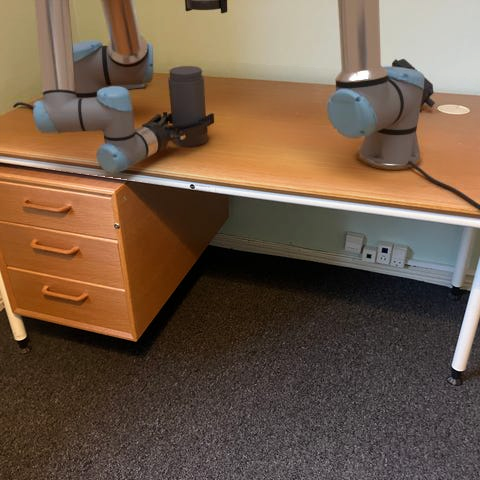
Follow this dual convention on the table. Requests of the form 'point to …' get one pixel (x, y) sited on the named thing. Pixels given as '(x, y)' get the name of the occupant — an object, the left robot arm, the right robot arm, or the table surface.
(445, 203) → the table surface
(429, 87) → the tool
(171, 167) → the table surface
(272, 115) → the table surface
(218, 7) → the lid
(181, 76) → the jar
